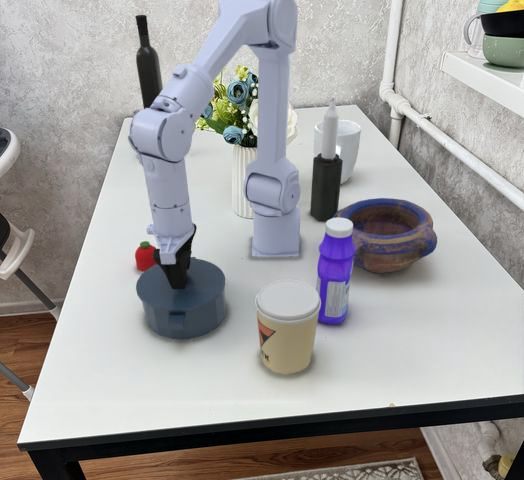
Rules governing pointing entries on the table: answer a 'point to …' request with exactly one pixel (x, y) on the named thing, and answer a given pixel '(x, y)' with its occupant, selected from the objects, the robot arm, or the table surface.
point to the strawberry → (145, 256)
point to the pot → (187, 319)
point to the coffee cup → (287, 324)
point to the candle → (327, 170)
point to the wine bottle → (147, 65)
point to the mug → (342, 144)
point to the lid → (176, 300)
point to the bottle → (335, 270)
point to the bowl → (389, 233)
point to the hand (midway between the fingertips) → (181, 278)
